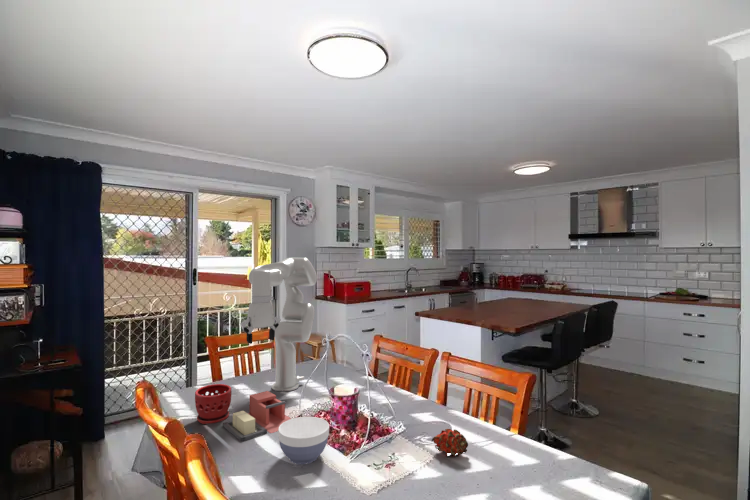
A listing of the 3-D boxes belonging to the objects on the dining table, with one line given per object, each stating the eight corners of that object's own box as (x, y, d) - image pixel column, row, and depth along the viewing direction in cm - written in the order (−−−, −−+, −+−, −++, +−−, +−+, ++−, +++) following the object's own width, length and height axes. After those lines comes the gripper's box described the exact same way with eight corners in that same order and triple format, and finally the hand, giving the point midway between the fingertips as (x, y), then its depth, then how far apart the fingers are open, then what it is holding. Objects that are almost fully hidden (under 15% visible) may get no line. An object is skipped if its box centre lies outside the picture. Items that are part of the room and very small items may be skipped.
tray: (247, 421, 152) (247, 416, 152) (267, 435, 140) (267, 429, 140) (222, 428, 146) (222, 423, 146) (241, 444, 134) (241, 438, 134)
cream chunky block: (232, 427, 146) (232, 413, 146) (243, 423, 148) (243, 410, 149) (244, 436, 138) (244, 422, 138) (255, 432, 141) (255, 418, 141)
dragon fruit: (470, 465, 125) (434, 462, 130) (472, 439, 131) (437, 437, 136) (464, 449, 121) (426, 447, 126) (466, 424, 127) (430, 422, 132)
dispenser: (243, 417, 156) (243, 396, 156) (271, 409, 164) (271, 389, 164) (270, 436, 140) (270, 412, 140) (299, 426, 148) (300, 404, 148)
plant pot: (188, 420, 153) (189, 389, 153) (221, 410, 162) (222, 381, 162) (203, 431, 144) (204, 397, 144) (237, 420, 153) (237, 389, 154)
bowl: (285, 475, 115) (285, 442, 115) (272, 451, 129) (273, 421, 129) (336, 462, 122) (336, 431, 123) (319, 441, 137) (319, 413, 137)
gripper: (275, 297, 172) (275, 337, 172) (237, 300, 160) (236, 342, 160) (284, 299, 167) (284, 339, 166) (245, 302, 155) (244, 346, 155)
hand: (260, 341), depth 163 cm, fingers open, 9 cm apart
